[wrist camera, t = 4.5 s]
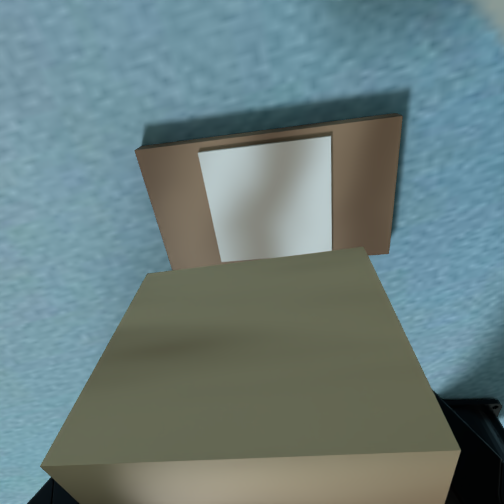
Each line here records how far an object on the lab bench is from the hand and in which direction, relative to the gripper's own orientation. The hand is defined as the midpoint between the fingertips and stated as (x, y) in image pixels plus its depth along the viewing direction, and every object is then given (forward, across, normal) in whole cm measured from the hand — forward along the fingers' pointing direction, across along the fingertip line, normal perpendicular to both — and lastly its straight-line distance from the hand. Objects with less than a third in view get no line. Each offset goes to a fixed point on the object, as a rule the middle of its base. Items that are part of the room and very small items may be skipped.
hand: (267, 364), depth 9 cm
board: (+12, 0, 0) cm, 12 cm away
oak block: (+1, 0, 0) cm, 1 cm away
